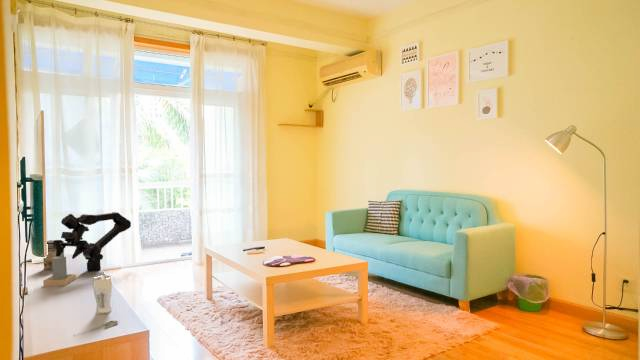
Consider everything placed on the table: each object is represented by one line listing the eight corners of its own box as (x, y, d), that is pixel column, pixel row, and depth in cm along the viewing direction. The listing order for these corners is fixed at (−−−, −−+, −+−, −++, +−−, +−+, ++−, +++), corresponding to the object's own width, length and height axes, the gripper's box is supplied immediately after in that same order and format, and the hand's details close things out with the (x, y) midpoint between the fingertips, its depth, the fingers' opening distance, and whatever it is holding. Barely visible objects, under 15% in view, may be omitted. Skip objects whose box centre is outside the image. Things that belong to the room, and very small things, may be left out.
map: (121, 323, 175) (120, 321, 175) (69, 343, 157) (69, 341, 157) (113, 321, 177) (113, 319, 177) (62, 340, 160) (62, 338, 160)
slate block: (67, 280, 230) (66, 256, 229) (61, 283, 226) (60, 258, 225) (58, 280, 230) (57, 256, 229) (52, 282, 226) (51, 258, 225)
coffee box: (43, 269, 253) (41, 242, 252) (50, 266, 260) (49, 240, 259) (57, 269, 252) (56, 242, 251) (65, 267, 259) (64, 240, 258)
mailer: (80, 276, 240) (80, 270, 240) (65, 285, 223) (65, 280, 223) (60, 276, 239) (60, 271, 239) (43, 286, 222) (43, 280, 222)
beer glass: (92, 311, 187) (90, 277, 186) (108, 307, 192) (107, 274, 191) (98, 315, 182) (96, 281, 181) (115, 311, 187) (114, 277, 186)
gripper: (53, 225, 236) (39, 250, 226) (85, 225, 234) (73, 250, 224) (64, 236, 245) (51, 260, 234) (95, 237, 243) (83, 261, 233)
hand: (64, 258), depth 231 cm, fingers open, 9 cm apart
